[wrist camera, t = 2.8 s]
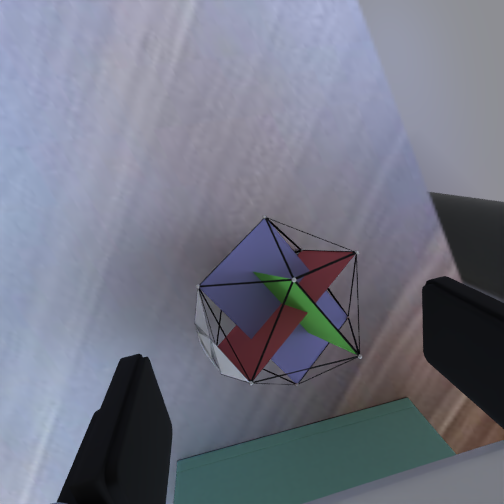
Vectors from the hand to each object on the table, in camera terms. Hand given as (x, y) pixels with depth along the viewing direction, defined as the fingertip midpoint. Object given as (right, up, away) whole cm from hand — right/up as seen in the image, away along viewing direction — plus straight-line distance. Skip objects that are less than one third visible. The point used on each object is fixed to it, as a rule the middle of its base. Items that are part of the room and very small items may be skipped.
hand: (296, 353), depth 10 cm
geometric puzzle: (-1, +2, +7) cm, 7 cm away
